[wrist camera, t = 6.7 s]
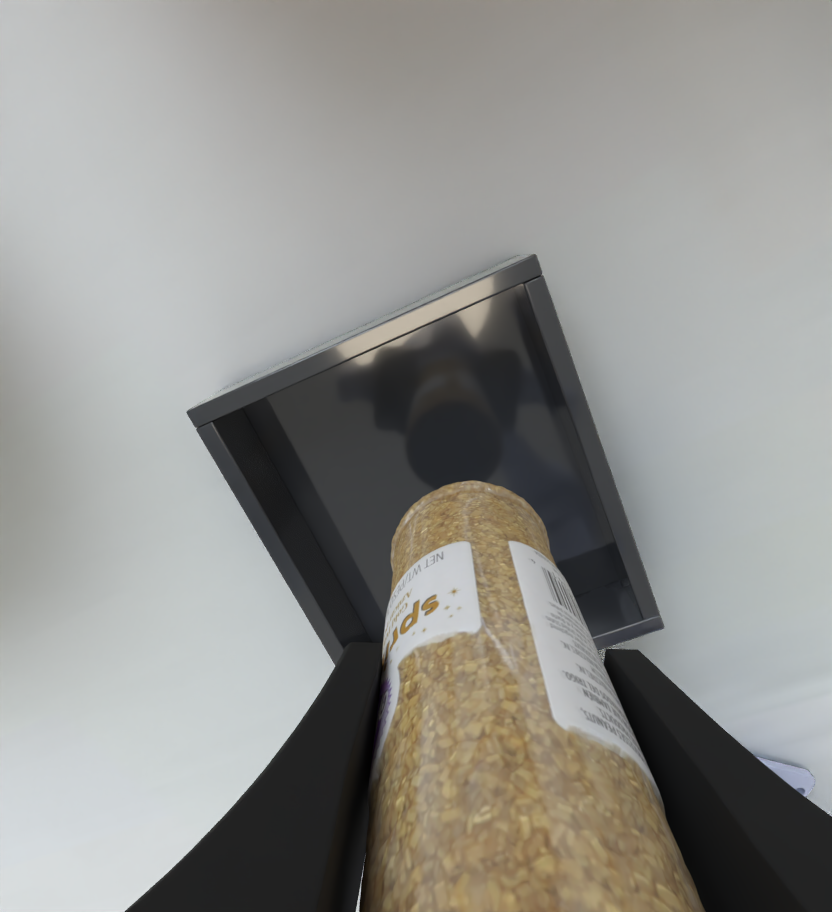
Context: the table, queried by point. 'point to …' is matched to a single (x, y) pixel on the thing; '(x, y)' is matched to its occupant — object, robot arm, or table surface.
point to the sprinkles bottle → (503, 733)
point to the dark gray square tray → (427, 452)
